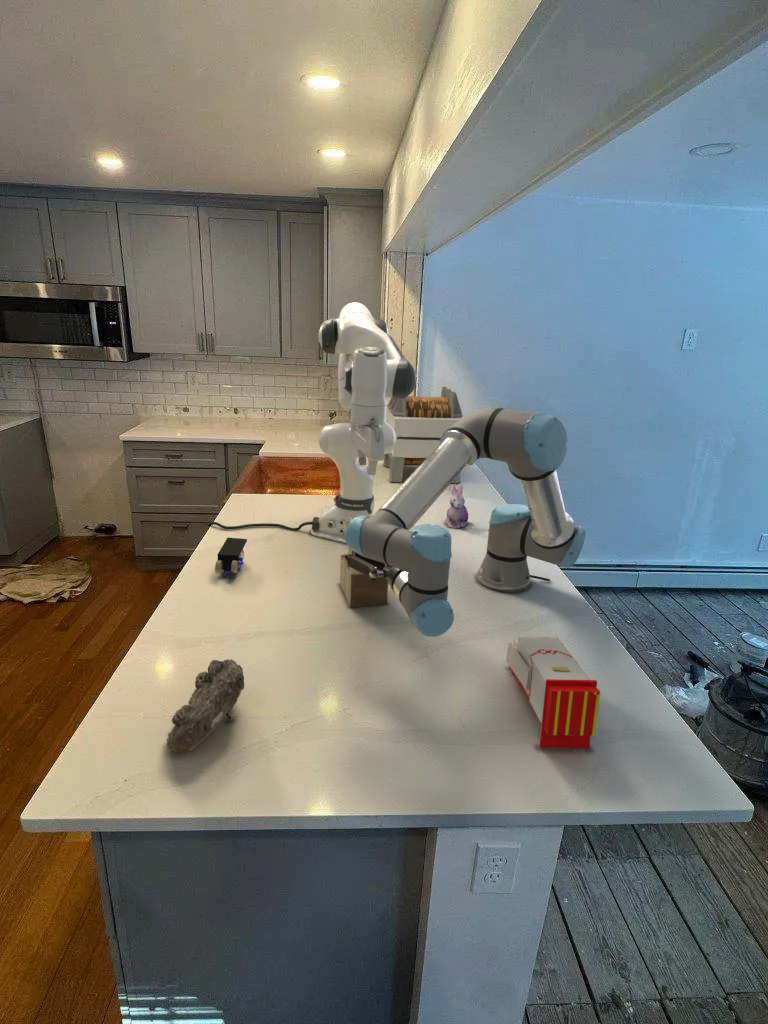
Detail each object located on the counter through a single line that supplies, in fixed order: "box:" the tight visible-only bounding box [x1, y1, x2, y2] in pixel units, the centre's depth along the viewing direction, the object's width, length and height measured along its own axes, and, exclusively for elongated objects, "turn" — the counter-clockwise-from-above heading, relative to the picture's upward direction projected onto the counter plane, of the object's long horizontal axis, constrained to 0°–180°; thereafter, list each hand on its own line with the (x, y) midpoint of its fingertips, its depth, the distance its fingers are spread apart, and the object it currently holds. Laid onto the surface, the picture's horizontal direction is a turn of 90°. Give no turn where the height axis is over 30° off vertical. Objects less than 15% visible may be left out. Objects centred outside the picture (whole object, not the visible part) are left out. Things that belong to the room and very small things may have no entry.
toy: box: [505, 636, 601, 749], centre depth 115 cm, size 12×13×30 cm
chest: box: [339, 553, 389, 608], centre depth 156 cm, size 14×10×9 cm
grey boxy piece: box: [383, 386, 463, 484], centre depth 268 cm, size 34×33×41 cm
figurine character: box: [214, 537, 248, 578], centre depth 166 cm, size 7×8×15 cm
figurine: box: [445, 484, 469, 529], centre depth 209 cm, size 9×10×15 cm
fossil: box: [166, 658, 245, 754], centre depth 106 cm, size 22×10×15 cm
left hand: (366, 469), depth 145 cm, fingers open, 8 cm apart
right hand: (382, 543), depth 135 cm, fingers open, 13 cm apart
